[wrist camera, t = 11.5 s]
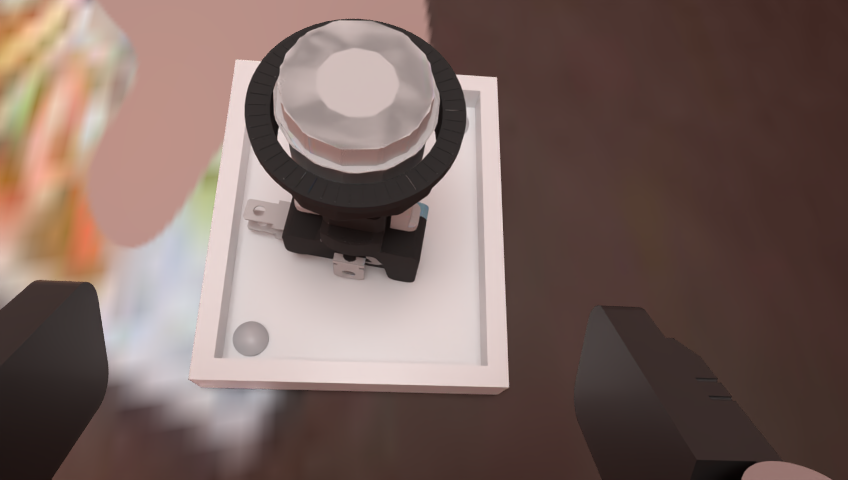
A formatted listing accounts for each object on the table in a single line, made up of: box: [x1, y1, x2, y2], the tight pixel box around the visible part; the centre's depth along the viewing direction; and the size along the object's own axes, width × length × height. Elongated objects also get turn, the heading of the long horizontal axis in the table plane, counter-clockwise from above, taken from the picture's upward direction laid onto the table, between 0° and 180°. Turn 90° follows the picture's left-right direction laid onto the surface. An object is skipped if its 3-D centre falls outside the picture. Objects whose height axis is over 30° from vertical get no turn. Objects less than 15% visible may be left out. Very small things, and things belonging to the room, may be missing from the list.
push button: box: [243, 19, 467, 283], centre depth 19 cm, size 7×5×10 cm
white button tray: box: [189, 60, 509, 395], centre depth 23 cm, size 10×12×2 cm
